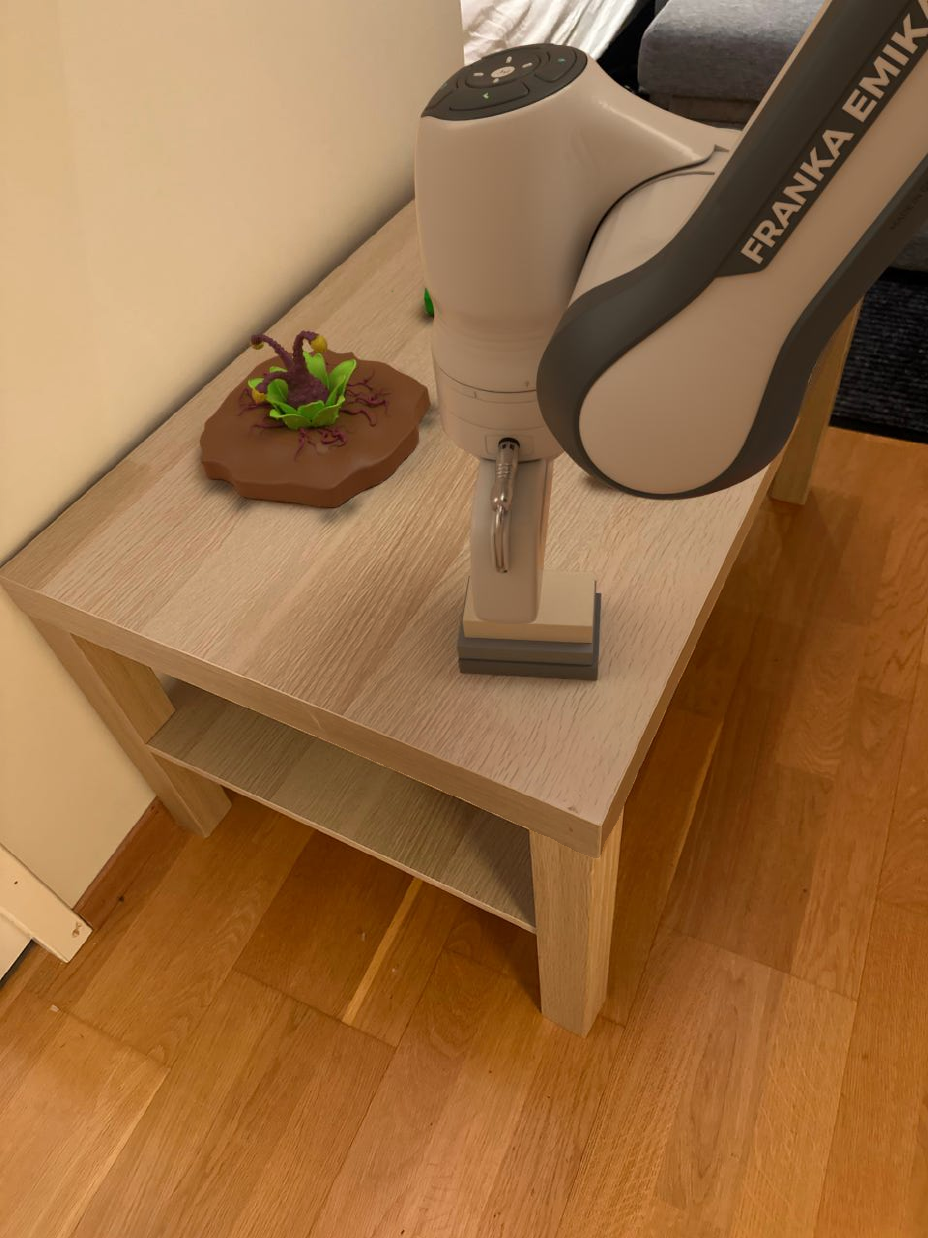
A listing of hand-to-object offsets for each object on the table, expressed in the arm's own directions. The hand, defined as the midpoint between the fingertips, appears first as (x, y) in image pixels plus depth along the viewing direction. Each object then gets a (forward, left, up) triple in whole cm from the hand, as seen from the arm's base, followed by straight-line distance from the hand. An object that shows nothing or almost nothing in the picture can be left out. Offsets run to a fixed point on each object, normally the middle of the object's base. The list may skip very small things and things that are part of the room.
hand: (523, 556), depth 60 cm
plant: (+22, -23, -9) cm, 33 cm away
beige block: (0, 0, -6) cm, 6 cm away
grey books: (0, 0, -9) cm, 9 cm away
